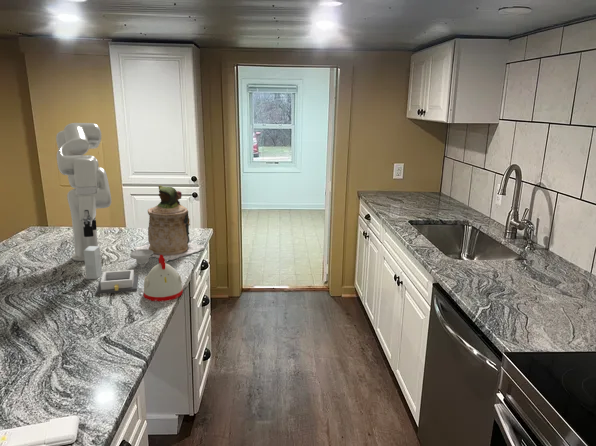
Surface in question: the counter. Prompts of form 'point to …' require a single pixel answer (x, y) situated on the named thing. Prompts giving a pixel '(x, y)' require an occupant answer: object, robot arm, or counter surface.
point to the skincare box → (92, 262)
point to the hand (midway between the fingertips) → (90, 233)
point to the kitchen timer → (162, 283)
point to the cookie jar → (169, 227)
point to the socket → (117, 282)
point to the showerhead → (141, 256)
